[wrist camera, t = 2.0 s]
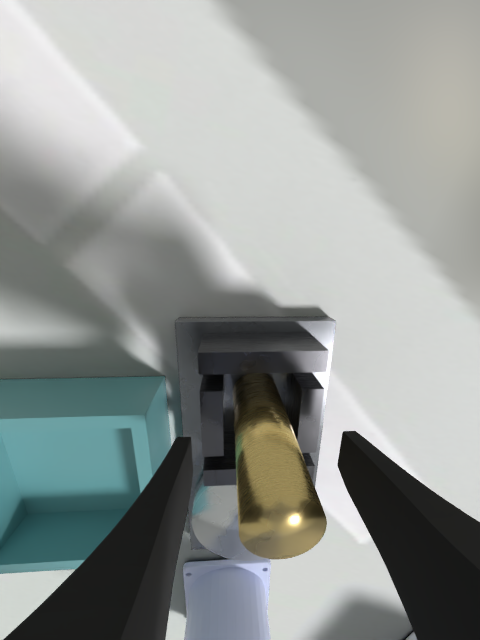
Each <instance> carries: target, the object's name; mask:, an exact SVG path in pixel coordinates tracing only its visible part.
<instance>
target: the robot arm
mask: <svg viewBox="0 0 480 640" xmlns="http://www.w3.org/2000/svg"><path fill="white" fill-rule="evenodd" d="M338 468H339V471H340V473H341V476H342V478H343V481H344V483H345V486H346V488H347V491H348V493H349V495H350V497H351V498H352V500H353V502H354V504H355V506H356V508H357V510H358V512H359V514H360V516H361V518H362V520H363V522H364V524H365V525H366V527H367V529H368V531H369V533H370V535H371V537H372V539H373V541H374V543H375V545H376V546H377V548H378V550H379V552H380V554H381V556H382V559H383V561H384V563H385V565H386V567H387V569H388V571H389V574H390V576H391V578H392V581H393V583H394V585H395V588H396V590H397V592H398V594H399V597H400V599H401V601H402V604H403V606H404V609H405V611H406V613H407V616H408V618H409V621H410V623H411V626H412V628H413V630H414V633H415V635H416V638H417V640H480V522H478V521H477V520H475V519H474V518H472V517H470V516H469V515H467V514H466V513H464V512H463V511H461V510H460V509H458V508H457V507H455V506H454V505H452V504H451V503H449V502H448V501H446V500H445V499H443V498H442V497H440V496H439V495H437V494H436V493H435V492H433V491H432V490H430V489H429V488H428V487H426V486H425V485H424V484H422V483H421V482H419V481H418V480H417V479H415V478H414V477H413V476H411V475H410V474H409V473H407V472H406V471H405V470H403V469H402V468H401V467H400V466H398V465H397V464H396V463H395V462H393V461H392V460H391V459H390V458H388V457H387V456H386V455H385V454H383V453H382V452H381V451H380V450H378V449H377V448H376V447H375V446H373V445H372V444H371V443H370V442H369V441H367V440H366V439H365V438H364V437H362V436H361V435H360V434H358V433H357V432H356V431H344V432H343V434H342V441H341V447H340V453H339V459H338ZM192 478H193V460H192V444H191V437H177V438H176V439H175V441H174V443H173V445H172V446H171V448H170V450H169V452H168V453H167V455H166V457H165V458H164V460H163V461H162V463H161V465H160V466H159V468H158V469H157V471H156V472H155V474H154V475H153V477H152V478H151V480H150V481H149V483H148V484H147V485H146V487H145V488H144V490H143V491H142V492H141V494H140V495H139V496H138V498H137V499H136V500H135V502H134V503H133V504H132V506H131V507H130V508H129V510H128V511H127V512H126V513H125V515H124V516H123V517H122V518H121V520H120V521H119V522H118V523H117V524H116V526H115V527H114V528H113V529H112V530H111V532H110V533H109V534H108V535H107V536H106V537H105V538H104V540H103V541H102V542H101V543H100V544H99V545H98V546H97V547H96V549H95V550H94V551H93V552H92V553H91V554H90V555H89V556H88V557H87V558H86V560H85V561H84V562H83V563H82V564H81V565H80V566H79V567H78V568H77V569H76V570H75V571H74V572H73V573H72V574H71V575H70V576H69V577H68V578H67V579H66V580H65V581H64V582H63V583H62V584H61V585H60V586H59V587H58V588H57V589H56V590H55V591H54V592H53V593H52V594H51V595H50V596H49V597H48V598H47V599H46V600H45V601H44V602H43V603H42V604H41V605H40V606H39V607H38V608H37V609H36V610H35V611H34V612H33V613H32V614H31V615H30V616H28V617H27V618H26V619H25V620H24V621H23V622H22V623H21V624H20V625H19V626H18V627H17V628H16V629H14V630H13V631H12V632H11V633H10V634H9V635H8V636H7V637H6V638H5V639H4V640H165V637H166V630H167V622H168V615H169V608H170V601H171V594H172V587H173V580H174V574H175V568H176V563H177V558H178V553H179V549H180V544H181V539H182V534H183V530H184V525H185V520H186V515H187V511H188V506H189V501H190V495H191V486H192ZM270 568H271V564H270V559H262V560H254V561H241V560H233V559H227V560H212V561H196V562H187V563H185V564H184V566H183V578H184V589H185V600H186V611H187V619H186V628H185V637H184V640H271V638H270V629H269V620H268V597H269V582H270Z"/></svg>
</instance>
